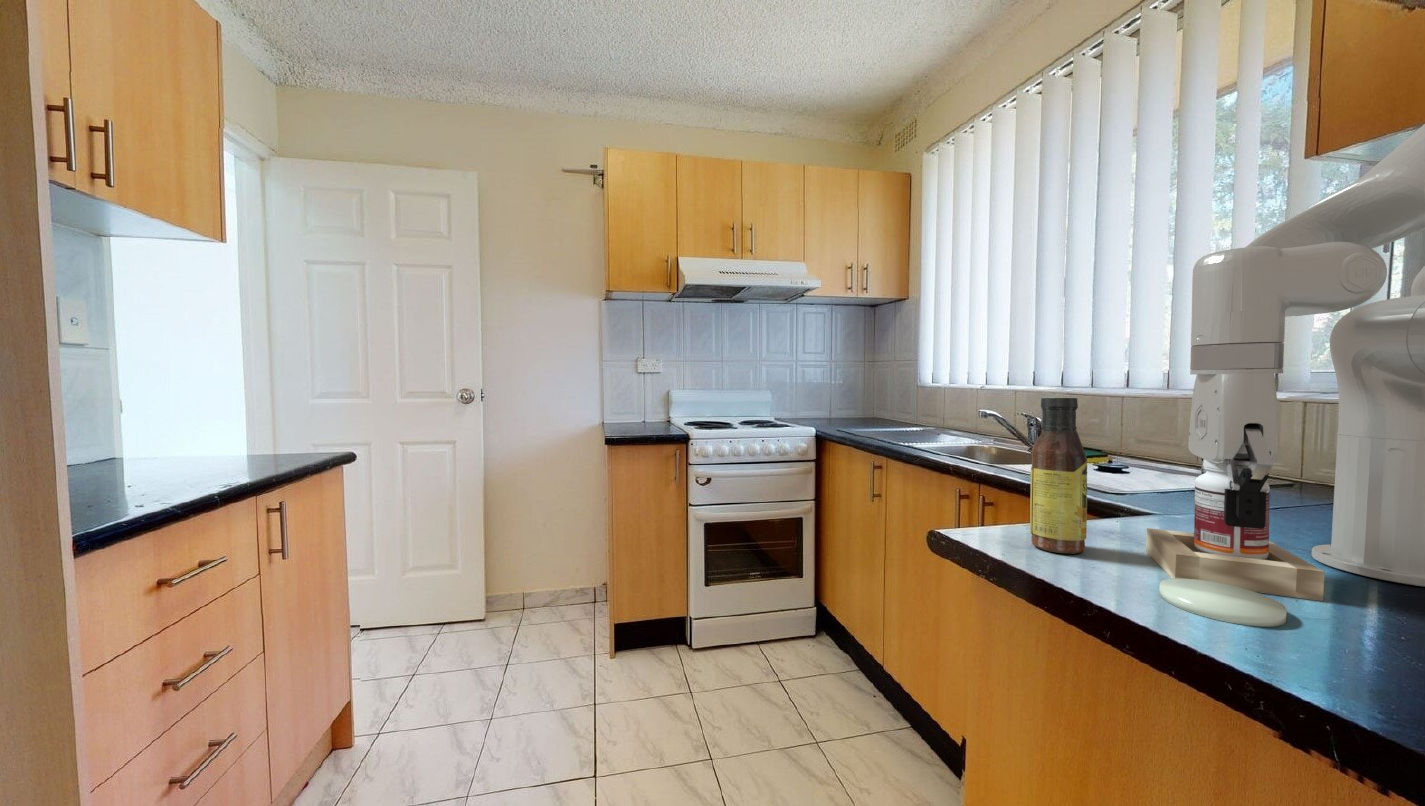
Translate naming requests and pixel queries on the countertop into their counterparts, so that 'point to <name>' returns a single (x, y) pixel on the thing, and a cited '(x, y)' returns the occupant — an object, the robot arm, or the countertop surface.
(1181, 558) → the wooden square frame
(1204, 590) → the saucer
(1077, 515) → the sauce bottle
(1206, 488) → the pill bottle
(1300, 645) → the countertop surface
